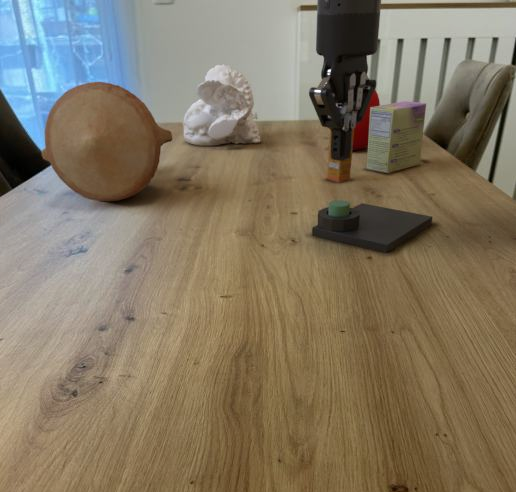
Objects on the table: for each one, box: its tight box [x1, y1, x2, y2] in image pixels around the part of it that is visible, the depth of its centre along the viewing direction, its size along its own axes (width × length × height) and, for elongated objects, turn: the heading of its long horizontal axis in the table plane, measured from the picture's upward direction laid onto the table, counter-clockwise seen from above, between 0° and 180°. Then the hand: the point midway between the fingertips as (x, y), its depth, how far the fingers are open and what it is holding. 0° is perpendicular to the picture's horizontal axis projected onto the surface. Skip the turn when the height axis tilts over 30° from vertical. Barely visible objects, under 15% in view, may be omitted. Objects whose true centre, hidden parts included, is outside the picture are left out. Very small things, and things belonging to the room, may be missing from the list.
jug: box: [41, 81, 173, 202], centre depth 100 cm, size 20×19×30 cm
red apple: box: [328, 89, 381, 151], centre depth 124 cm, size 13×11×14 cm
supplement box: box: [326, 129, 354, 183], centre depth 103 cm, size 3×3×10 cm
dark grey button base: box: [311, 202, 433, 254], centre depth 80 cm, size 14×12×3 cm
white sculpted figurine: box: [181, 63, 262, 147], centre depth 136 cm, size 19×20×20 cm
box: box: [366, 101, 427, 174], centre depth 109 cm, size 10×6×12 cm, turn 130°
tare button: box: [328, 199, 351, 217], centre depth 79 cm, size 3×3×2 cm
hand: (340, 159), depth 75 cm, fingers closed
